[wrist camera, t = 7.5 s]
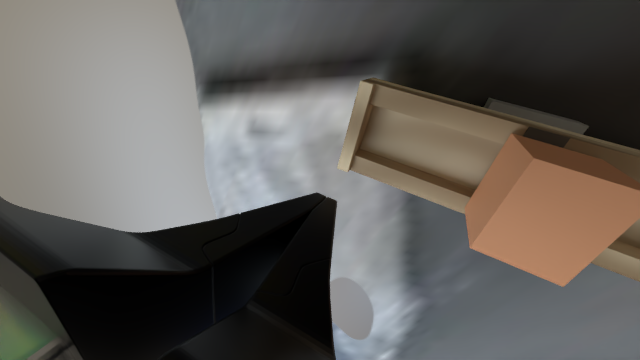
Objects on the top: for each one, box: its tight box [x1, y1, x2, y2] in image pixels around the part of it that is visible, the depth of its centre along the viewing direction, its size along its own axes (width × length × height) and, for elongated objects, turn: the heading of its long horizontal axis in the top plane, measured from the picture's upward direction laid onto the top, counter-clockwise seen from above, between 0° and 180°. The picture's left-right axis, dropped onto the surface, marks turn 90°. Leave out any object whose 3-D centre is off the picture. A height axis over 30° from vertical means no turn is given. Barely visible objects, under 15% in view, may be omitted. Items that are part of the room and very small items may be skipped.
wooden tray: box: [337, 78, 640, 282], centre depth 16 cm, size 7×20×5 cm, turn 78°
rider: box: [465, 133, 640, 287], centre depth 13 cm, size 5×4×6 cm
